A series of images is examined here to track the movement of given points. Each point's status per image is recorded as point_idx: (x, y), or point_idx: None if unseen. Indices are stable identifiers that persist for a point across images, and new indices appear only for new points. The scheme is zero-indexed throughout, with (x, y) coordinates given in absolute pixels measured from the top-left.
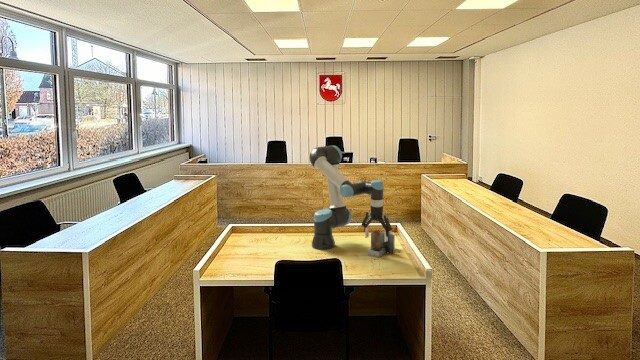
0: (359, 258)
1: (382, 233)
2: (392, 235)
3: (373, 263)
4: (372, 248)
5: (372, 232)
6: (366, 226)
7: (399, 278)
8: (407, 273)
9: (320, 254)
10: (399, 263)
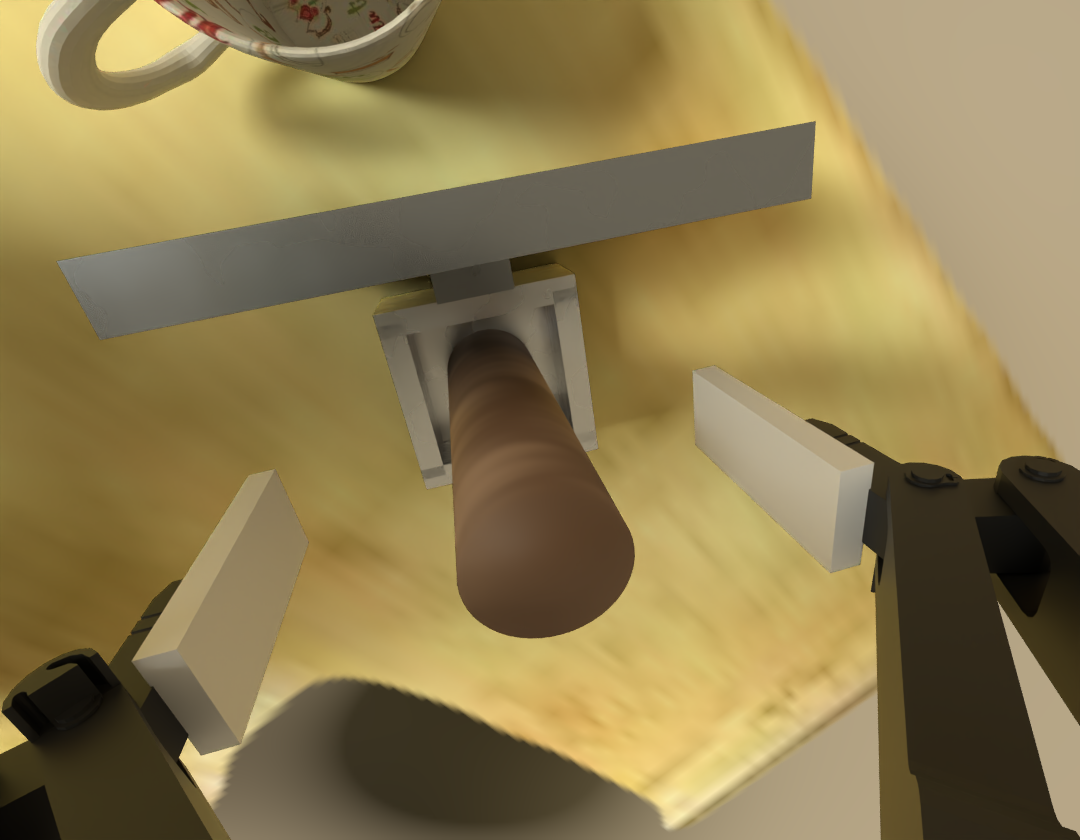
0: (448, 578)
1: (493, 260)
2: (784, 203)
3: (645, 567)
4: (426, 407)
5: (165, 321)
6: (162, 740)
7: None
8: None
9: None
10: (843, 400)
